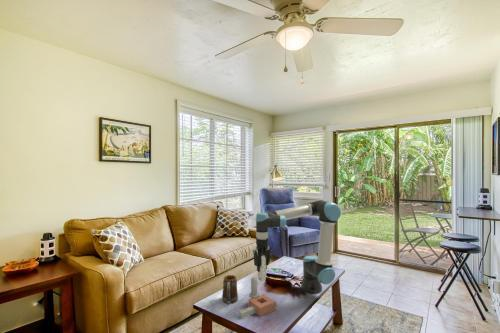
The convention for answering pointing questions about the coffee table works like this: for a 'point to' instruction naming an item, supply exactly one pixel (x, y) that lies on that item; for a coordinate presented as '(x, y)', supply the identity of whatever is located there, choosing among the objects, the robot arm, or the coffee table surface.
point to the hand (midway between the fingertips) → (262, 275)
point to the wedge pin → (263, 268)
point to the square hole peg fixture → (257, 302)
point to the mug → (230, 289)
